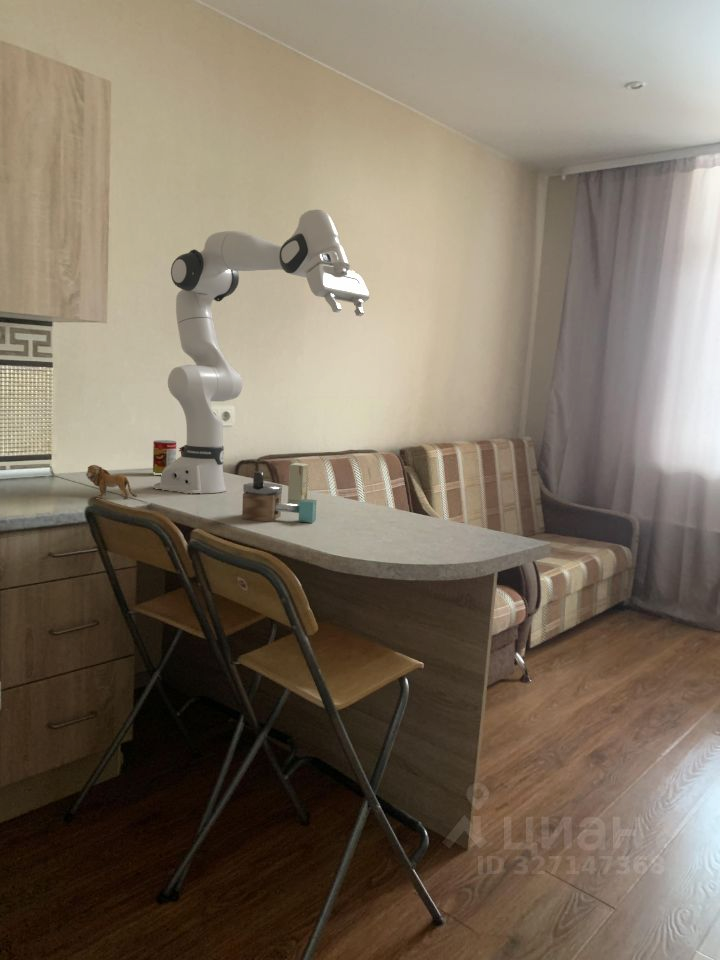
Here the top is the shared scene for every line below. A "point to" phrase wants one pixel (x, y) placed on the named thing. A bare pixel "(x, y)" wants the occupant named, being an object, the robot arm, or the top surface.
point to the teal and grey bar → (300, 509)
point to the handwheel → (261, 486)
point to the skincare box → (297, 482)
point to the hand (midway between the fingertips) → (349, 313)
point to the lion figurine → (108, 480)
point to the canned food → (163, 454)
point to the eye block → (260, 507)
